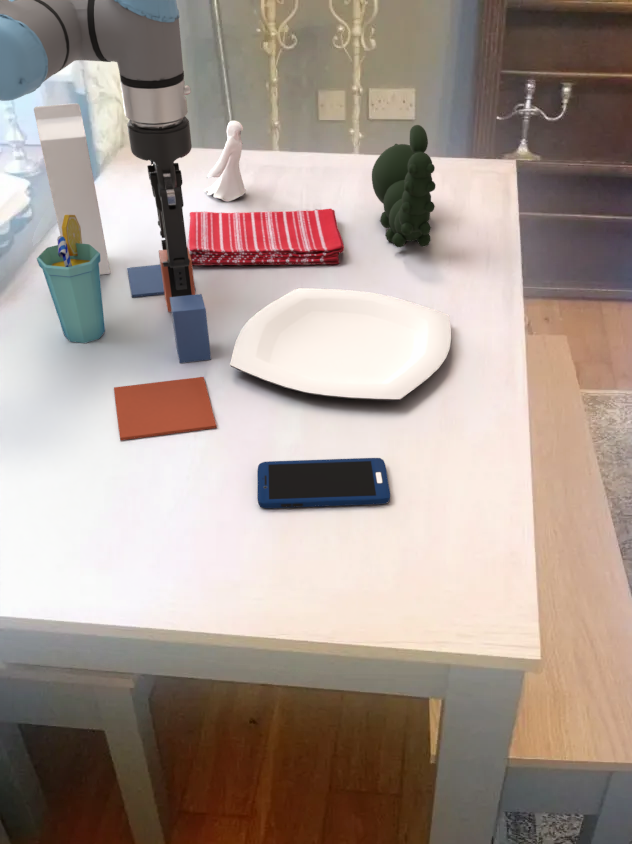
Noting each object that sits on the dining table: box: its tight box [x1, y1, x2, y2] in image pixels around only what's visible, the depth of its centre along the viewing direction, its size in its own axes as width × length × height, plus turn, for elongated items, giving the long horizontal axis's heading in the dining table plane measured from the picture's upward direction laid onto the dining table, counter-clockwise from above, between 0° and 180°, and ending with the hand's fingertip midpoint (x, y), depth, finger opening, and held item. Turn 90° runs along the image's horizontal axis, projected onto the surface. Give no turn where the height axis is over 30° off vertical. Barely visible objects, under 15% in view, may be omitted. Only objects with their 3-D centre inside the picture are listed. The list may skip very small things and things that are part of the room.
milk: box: [33, 102, 111, 276], centre depth 126 cm, size 6×6×22 cm
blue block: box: [170, 293, 212, 364], centre depth 113 cm, size 4×4×7 cm
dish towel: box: [187, 208, 345, 266], centre depth 139 cm, size 17×24×3 cm
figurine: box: [203, 120, 247, 202], centre depth 149 cm, size 8×8×12 cm
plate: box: [229, 287, 452, 401], centre depth 115 cm, size 27×27×2 cm
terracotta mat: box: [113, 376, 218, 441], centre depth 106 cm, size 11×11×1 cm
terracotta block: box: [158, 248, 196, 313], centre depth 123 cm, size 4×4×7 cm
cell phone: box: [256, 457, 391, 509], centre depth 96 cm, size 7×14×1 cm, turn 94°
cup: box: [36, 215, 106, 344], centre depth 113 cm, size 14×8×15 cm, turn 12°
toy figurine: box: [371, 124, 436, 248], centre depth 137 cm, size 9×19×25 cm
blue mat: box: [126, 264, 197, 298], centre depth 130 cm, size 9×9×1 cm
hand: (180, 296), depth 126 cm, fingers open, 6 cm apart
